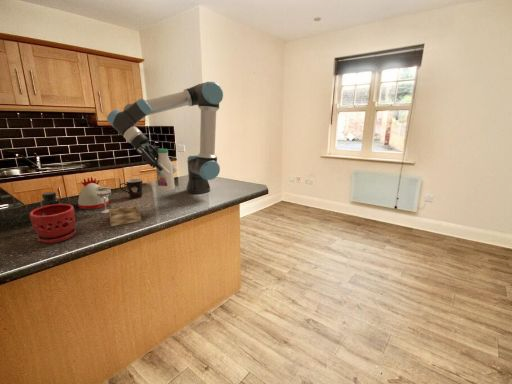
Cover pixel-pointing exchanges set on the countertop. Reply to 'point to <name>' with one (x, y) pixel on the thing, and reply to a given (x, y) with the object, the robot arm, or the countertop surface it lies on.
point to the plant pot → (54, 222)
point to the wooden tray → (124, 215)
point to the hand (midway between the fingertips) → (171, 172)
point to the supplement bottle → (49, 200)
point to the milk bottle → (163, 181)
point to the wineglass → (103, 195)
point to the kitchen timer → (90, 196)
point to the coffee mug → (134, 188)
